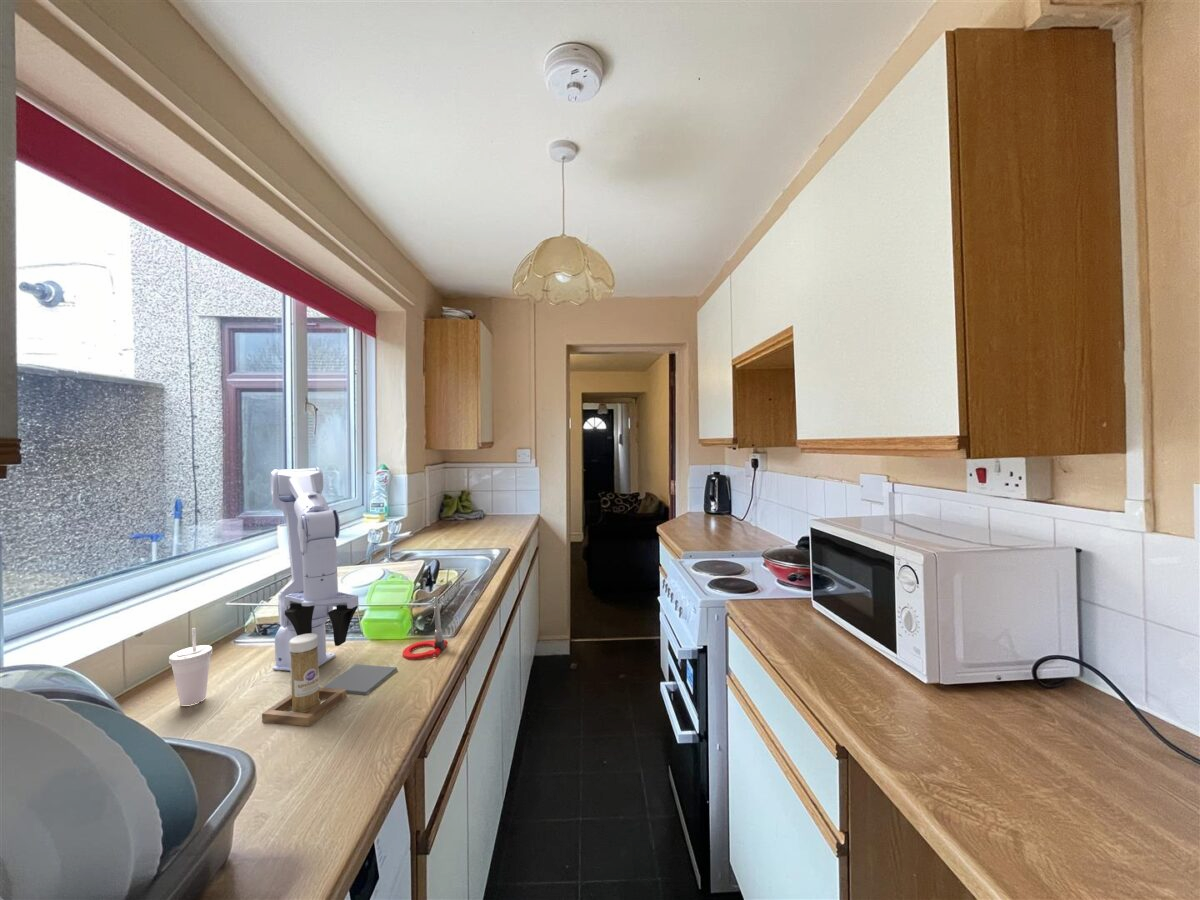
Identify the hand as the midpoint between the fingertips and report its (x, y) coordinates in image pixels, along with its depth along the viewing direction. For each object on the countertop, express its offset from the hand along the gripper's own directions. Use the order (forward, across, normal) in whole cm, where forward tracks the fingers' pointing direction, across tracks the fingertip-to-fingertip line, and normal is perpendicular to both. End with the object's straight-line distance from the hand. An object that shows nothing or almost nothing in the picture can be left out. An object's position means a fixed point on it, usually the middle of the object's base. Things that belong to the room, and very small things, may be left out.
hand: (322, 642), depth 92 cm
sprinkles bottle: (+11, 0, -4) cm, 12 cm away
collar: (+10, 0, -4) cm, 11 cm away
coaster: (+10, +3, +7) cm, 13 cm away
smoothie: (+11, -24, -5) cm, 27 cm away
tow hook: (+11, +9, +20) cm, 25 cm away
